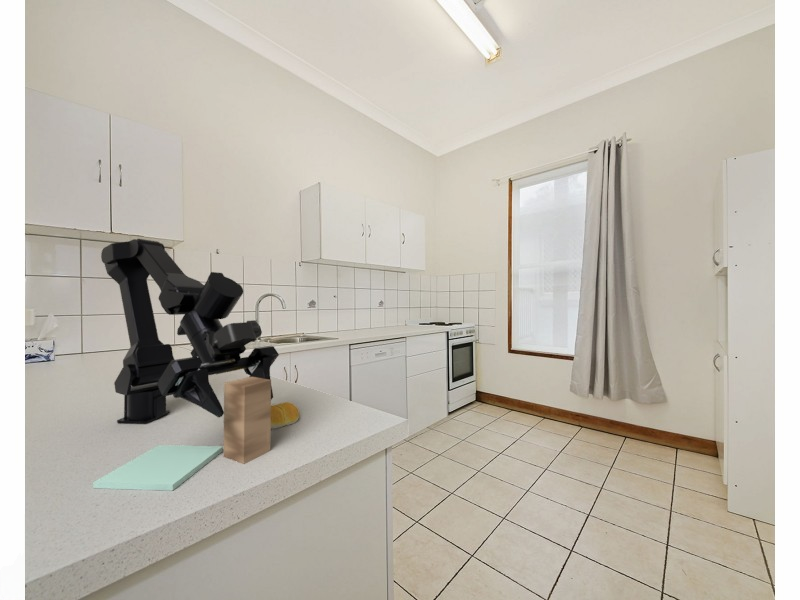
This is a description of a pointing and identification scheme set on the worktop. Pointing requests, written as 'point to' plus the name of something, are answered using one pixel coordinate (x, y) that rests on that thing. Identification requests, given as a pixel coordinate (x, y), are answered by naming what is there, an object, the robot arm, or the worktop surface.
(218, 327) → the robot arm
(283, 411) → the bread roll
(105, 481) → the green board
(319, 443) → the worktop surface
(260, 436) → the walnut block
